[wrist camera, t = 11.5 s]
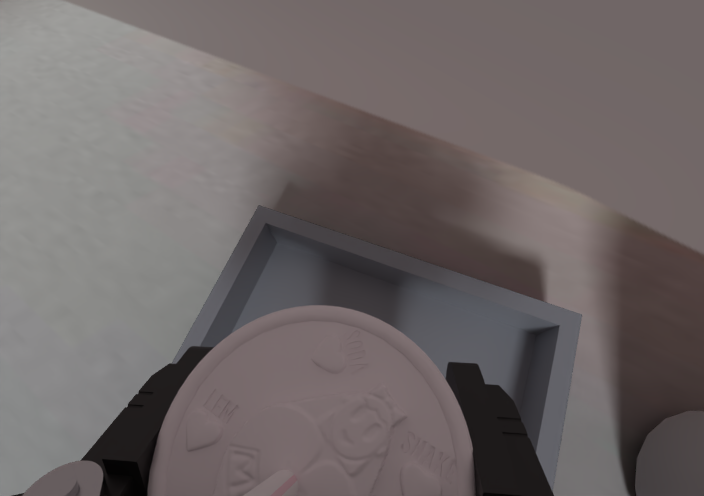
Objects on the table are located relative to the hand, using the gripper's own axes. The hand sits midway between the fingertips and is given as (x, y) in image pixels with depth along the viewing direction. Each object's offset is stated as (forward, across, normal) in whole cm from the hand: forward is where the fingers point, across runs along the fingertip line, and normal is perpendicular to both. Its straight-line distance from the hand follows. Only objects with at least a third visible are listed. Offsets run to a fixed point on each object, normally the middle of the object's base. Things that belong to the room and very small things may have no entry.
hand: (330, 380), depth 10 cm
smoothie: (+4, 0, +6) cm, 7 cm away
